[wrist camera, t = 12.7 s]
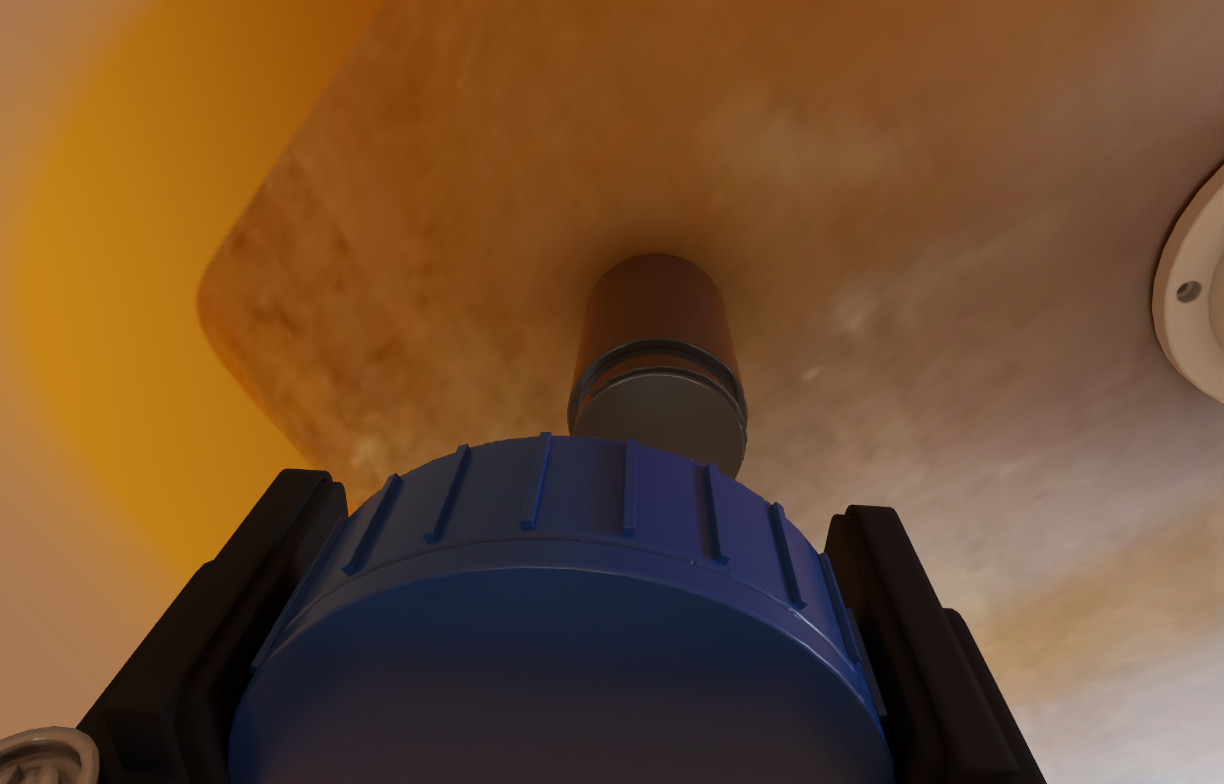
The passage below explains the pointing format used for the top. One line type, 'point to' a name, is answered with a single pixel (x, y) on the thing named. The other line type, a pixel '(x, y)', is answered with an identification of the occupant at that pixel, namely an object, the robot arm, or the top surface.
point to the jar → (660, 364)
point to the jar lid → (563, 634)
